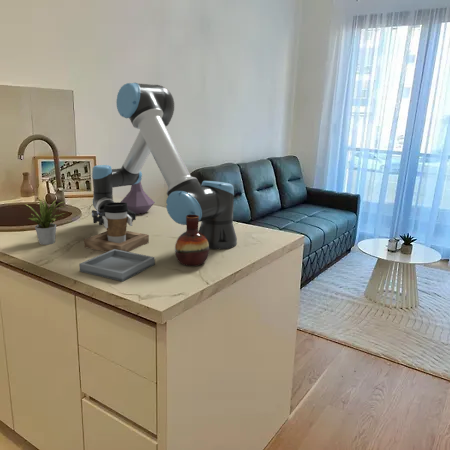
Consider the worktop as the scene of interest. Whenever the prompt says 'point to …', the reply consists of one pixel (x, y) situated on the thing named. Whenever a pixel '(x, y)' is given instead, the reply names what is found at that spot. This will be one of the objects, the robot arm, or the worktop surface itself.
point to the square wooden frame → (103, 244)
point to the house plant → (45, 223)
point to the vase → (192, 244)
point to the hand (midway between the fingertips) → (119, 223)
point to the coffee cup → (116, 221)
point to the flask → (138, 199)
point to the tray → (117, 264)
